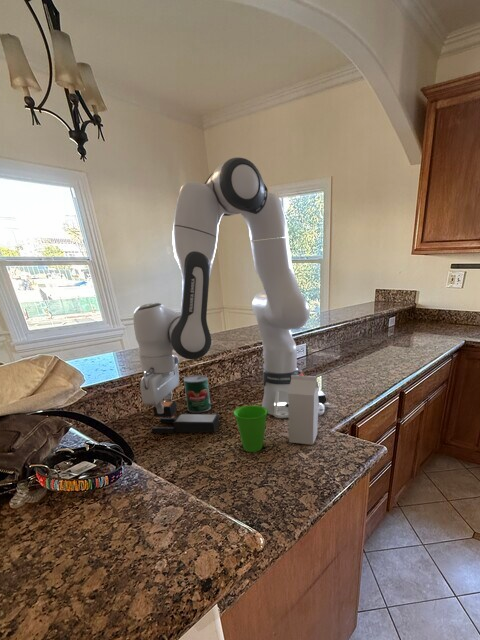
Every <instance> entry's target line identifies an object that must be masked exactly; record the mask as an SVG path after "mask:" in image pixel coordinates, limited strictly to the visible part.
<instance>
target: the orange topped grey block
mask: <svg viewBox="0 0 480 640" xmlns="http://www.w3.org/2000/svg"><path fill="white" fill-rule="evenodd" d="M176 403H177V402H176V401H173V400H172V401H164V400H162V405H163V406H164V408H165V412H164V413H163V414H158V413H157V408H156V407H155V406H152V409H153V410H152V411H153V414H154V417H155V418H173V416H174V414H176V413H177V411H178V409H177V404H176Z"/></svg>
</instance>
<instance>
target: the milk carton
mask: <svg viewBox="0 0 480 640" xmlns="http://www.w3.org/2000/svg"><path fill="white" fill-rule="evenodd" d="M319 387H320V386H319V383H318V377H317V376H310V375H304V376H298V375H291V382H290V387H289V392H288V412H289V418H288V442H289V443H292V444H301V445H311V446H313V445H314V443H315V441H316V438H317V437H318V429H319V428H318V427H319V422H318V421H319V416H318V393H319V391H320V390H319Z"/></svg>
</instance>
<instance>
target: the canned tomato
mask: <svg viewBox="0 0 480 640" xmlns="http://www.w3.org/2000/svg"><path fill="white" fill-rule="evenodd" d="M208 379H209V377H208V376H207V375H202V374H194V375H188V376H185V377H184V378H183V379H182V380H183V386H184V392H185V399H186V400H185V401H186V405H187V411H188V412H189V413H192V414H202V413H205V412H208V411H210V410H211V409H212V406H211V397H210V389H209V380H208Z"/></svg>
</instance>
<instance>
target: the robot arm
mask: <svg viewBox="0 0 480 640" xmlns="http://www.w3.org/2000/svg"><path fill="white" fill-rule="evenodd" d="M174 209H175V210H174V215H173V226H172V246H173V247H172V248H173V256H174V258H175V261H176V262H177V265H178V267H179V271H180V274H181V280H182V281H181V282H182V286H181V287H182V289H181V305H180V312H177V311H175V310H172V309H171V308H168V307H166V306H165V305H163V303H161V302H154V303H153V302H150V303H146V304H142V305H139V306H138V307H136V308H135V309H134V311H133V315H132V317H133V318H132V320H133V329H134V330H133V331H134V336H135V340H136V342H137V344H138V357H139V362H140V367H141V368H140V369H141V371H142V373H143V376H142V378H141V379H140V383H139V385H140V386H139V387H140V395H141V396H140V397H141V400H142V401H141V402H142V404H143V405H144V406H148V407H149V406H152V407H153V406H155V407H156V408H157V413H158V414H163V413H164V412H165V408H164V406H163V405H162V401H173V390H174V389H176V387H178V386H179V384H180V370H179V365H178V364H179V363H180V360H179V356H180V357H181V358H183V359H185V360H198V359H200V358H203V357H204V356H205V355H207V353H209V351H210V349H211V346H212V336H211V332H210V329H209V325H208V320H207V315H208V302H209V301H208V299H209V289H210V288H209V287H210V279H211V273H212V269H213V265H214V260H215V257H216V256H215V255H216V251H217V244H218V236H219V225H220V222H221V219H222V217H228V216H229V217H231V216H234V215H241V216H242V217H243V219H244V220H245V223H246V225H247V228H248V234H249V241H250V246H251V247H250V248H251V254H252V258H253V265H254V270H255V273H256V275H257V276H258V278H259V280H260V282H261V284H262V287H263V290H261V291H259V292H257V293H256V294H255V295H254V297H253V299H252V302H251V308H252V309H251V310H252V312H253V314H254V316H255V319H256V321H257V326H258V330H259V334H260V338H261V343H262V349H263V350H262V352H263V353H262V354H263V370H262V384H263V397H262V403H261V406H262V407H265V408H266V409H267V410H268V413H267V415H271V416H274V418H275V419H276V418H277V419H289V412H288V392H289V387H290V382H291V375H298V376H305V374H304V372H303V370H302V369H299V368H298V346H297V343H296V341H295V340H294V337H293V333H292V331H294V330H299V329H301V328H303V327H304V326H305V325H306V324H307V323H308V321H309V318H310V314H311V313H310V305H309V303H308V301H307V300H306V298H305V297H304V295H303V294H302V291H301V288H300V286H299V283H298V280H297V277H296V274H295V271H294V265H293V262H292V254H291V247H290V236H289V231H288V223H287V219H286V214H285V210H284V207H283V204H282V201H281V199H280V197H279V196H278V195H276V194H274V193H272V192H269V190H268V187H267V186H266V184H265V182H264V180H263V177H262V174H261V172H260V171H259V169H258V167H257V166H256V165H255V164H254V163H253V162H252V161H250V160H249V159H247V158H244V157H232V158H229V159H227V160H226V161H224V162H223V163H221V164H220V165H218V166H217V167H216V168H215V170H214V171H213V172H212V173H211V174H210V175H209V176H208V178H207V179H206V181H205V182H204V183H203V182H200V181H195V180H193V181H186V182H185V183H183V184H182V185H181V187H180V189H179V191H178V196H177V199H176V203H175V208H174ZM173 350H174V352H175V353H176V354H177V355H175V354H174V353H173ZM178 355H179V356H178ZM326 402H327V397H326V394H325V393H324V391H323V390H319V393H318V417H319V416H323V414H324V413H325V411H326V406H325V403H326Z"/></svg>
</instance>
